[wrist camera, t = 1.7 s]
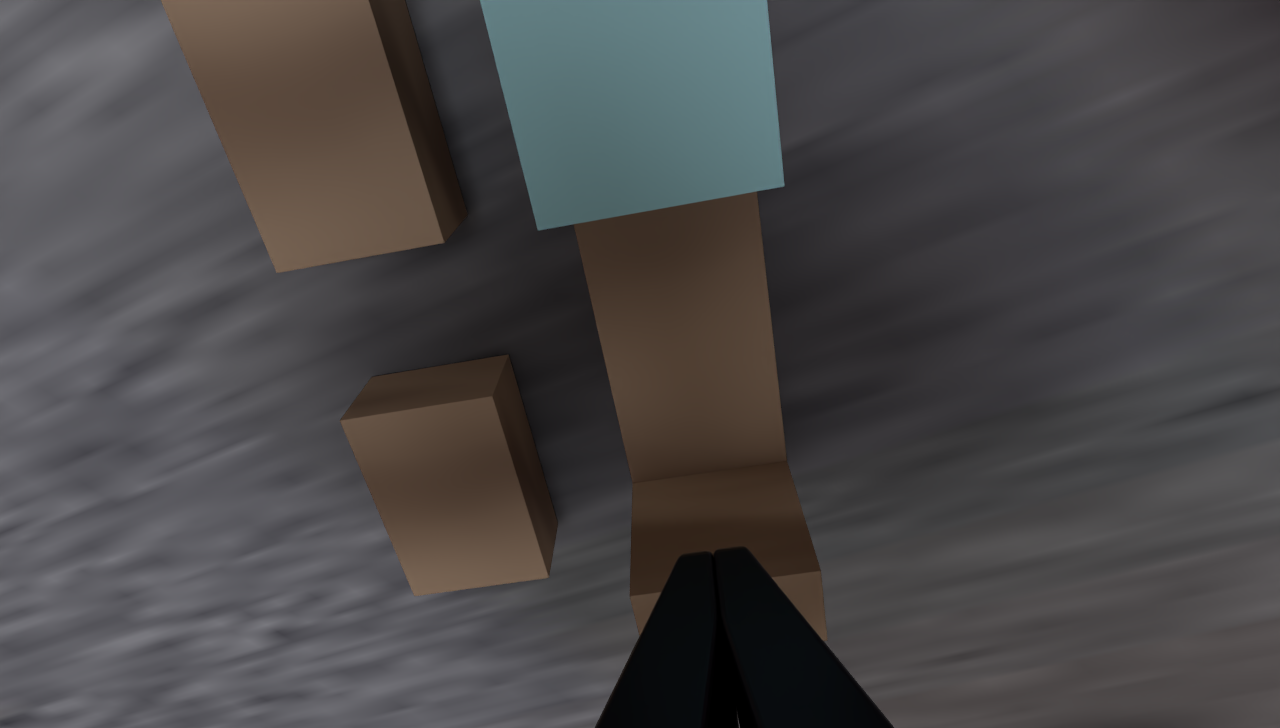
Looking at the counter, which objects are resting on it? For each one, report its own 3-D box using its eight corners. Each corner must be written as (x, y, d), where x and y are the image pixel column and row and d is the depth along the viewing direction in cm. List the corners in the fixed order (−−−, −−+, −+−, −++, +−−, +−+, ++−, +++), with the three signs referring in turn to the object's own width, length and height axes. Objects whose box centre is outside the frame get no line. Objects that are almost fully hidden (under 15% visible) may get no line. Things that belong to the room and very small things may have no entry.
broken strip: (557, 523, 23) (548, 578, 21) (436, 541, 23) (414, 595, 21) (389, -52, 16) (349, -60, 14) (218, -15, 16) (153, -18, 14)
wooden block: (779, 470, 22) (827, 640, 16) (646, 490, 22) (646, 663, 16) (701, -183, 15) (738, -302, 9) (508, -139, 15) (422, -227, 9)
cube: (751, 142, 15) (784, 186, 11) (562, 177, 15) (537, 230, 12) (727, -80, 13) (756, -110, 10) (514, -35, 14) (467, -48, 10)
